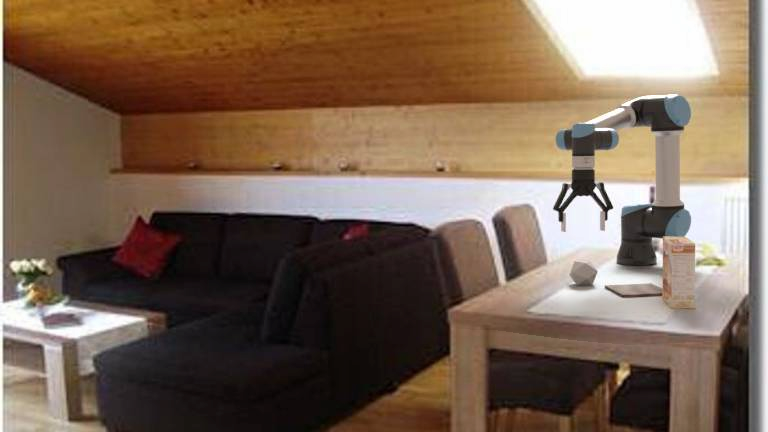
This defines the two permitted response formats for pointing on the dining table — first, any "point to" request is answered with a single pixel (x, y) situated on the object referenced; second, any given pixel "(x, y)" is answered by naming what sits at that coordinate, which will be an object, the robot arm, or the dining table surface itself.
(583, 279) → the die
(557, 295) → the dining table surface
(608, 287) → the walnut board
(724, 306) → the dining table surface
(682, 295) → the coffeecake box
